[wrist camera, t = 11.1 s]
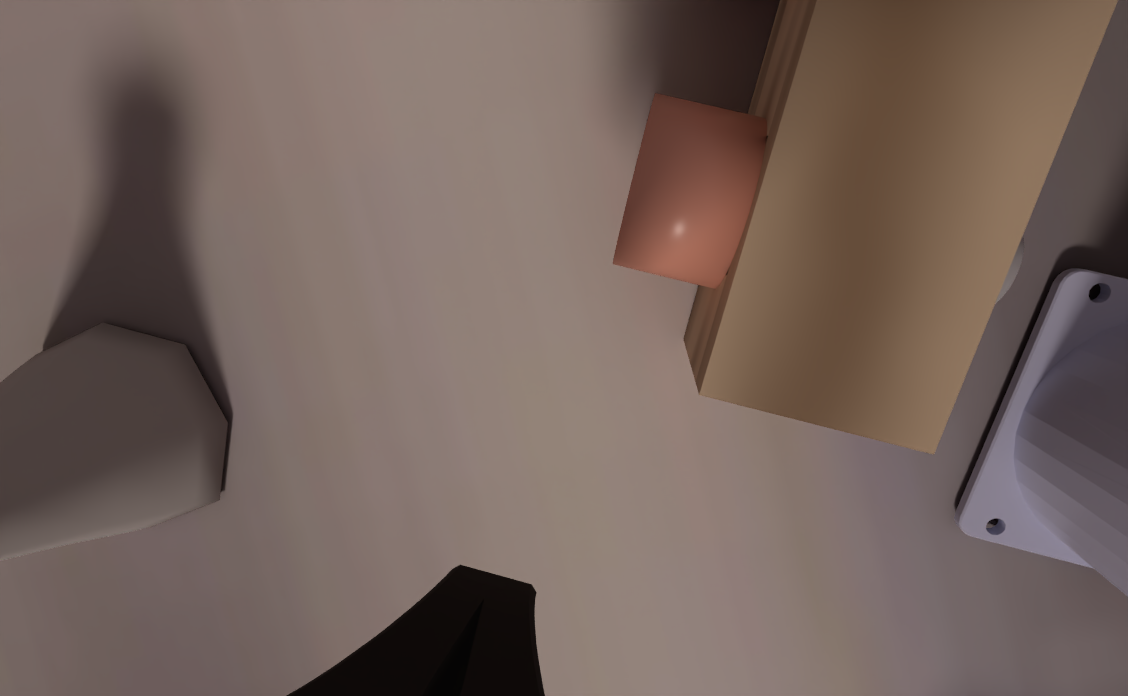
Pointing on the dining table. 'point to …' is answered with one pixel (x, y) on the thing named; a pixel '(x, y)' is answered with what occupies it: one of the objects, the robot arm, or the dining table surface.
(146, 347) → the flask
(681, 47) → the dining table surface
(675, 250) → the knob
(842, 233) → the mount
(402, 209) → the dining table surface
